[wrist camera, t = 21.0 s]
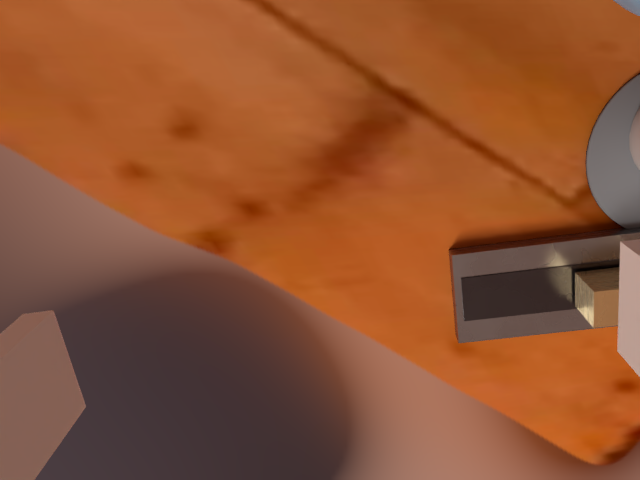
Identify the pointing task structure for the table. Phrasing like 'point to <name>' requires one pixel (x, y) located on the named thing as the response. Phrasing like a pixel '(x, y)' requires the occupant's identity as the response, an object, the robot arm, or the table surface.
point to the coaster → (616, 158)
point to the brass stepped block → (598, 296)
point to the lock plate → (527, 283)
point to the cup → (635, 139)
